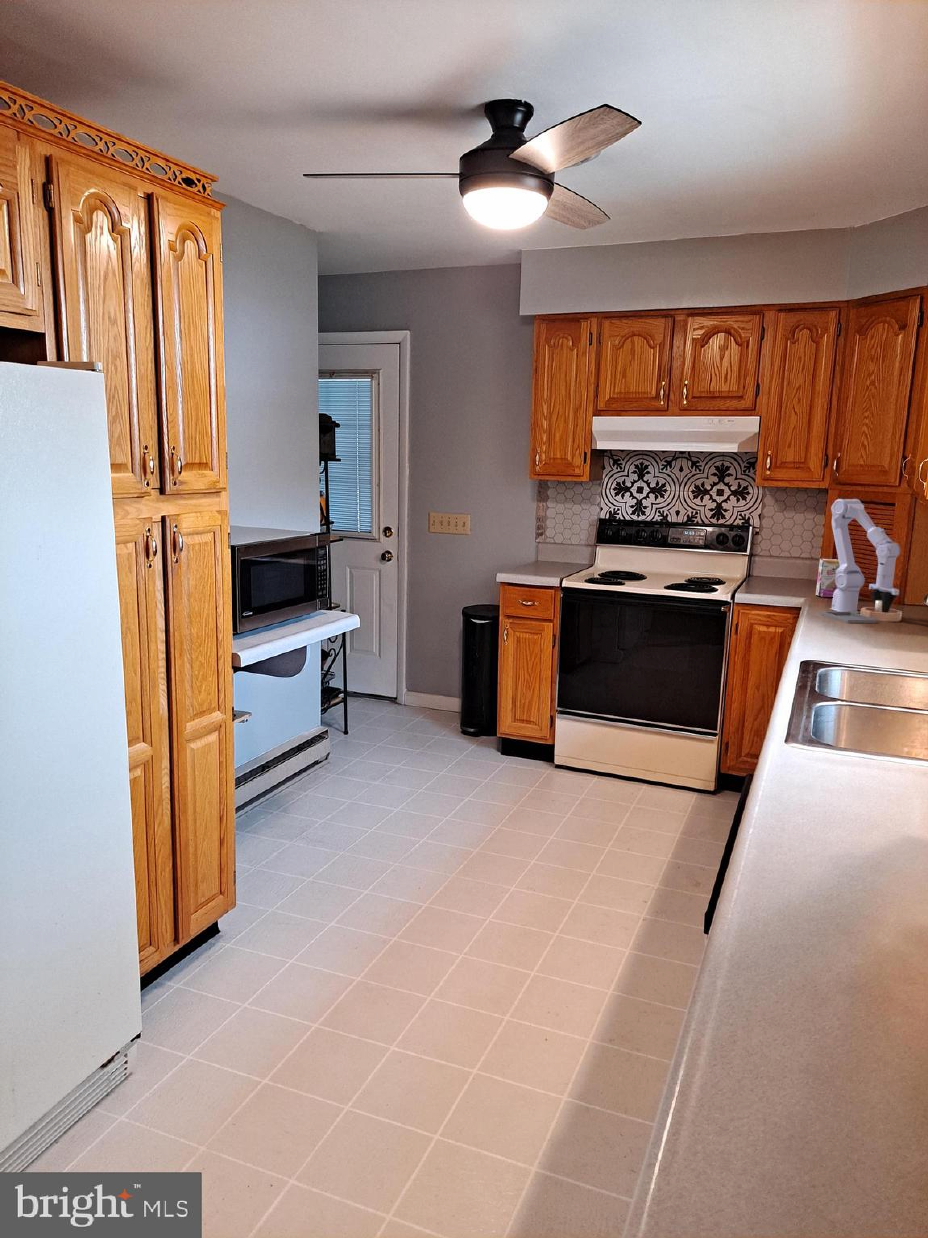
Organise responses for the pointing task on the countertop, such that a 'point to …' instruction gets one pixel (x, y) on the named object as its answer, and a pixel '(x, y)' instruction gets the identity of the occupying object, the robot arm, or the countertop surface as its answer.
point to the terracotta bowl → (882, 614)
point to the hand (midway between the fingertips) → (881, 611)
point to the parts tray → (849, 617)
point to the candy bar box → (827, 577)
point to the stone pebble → (878, 606)
